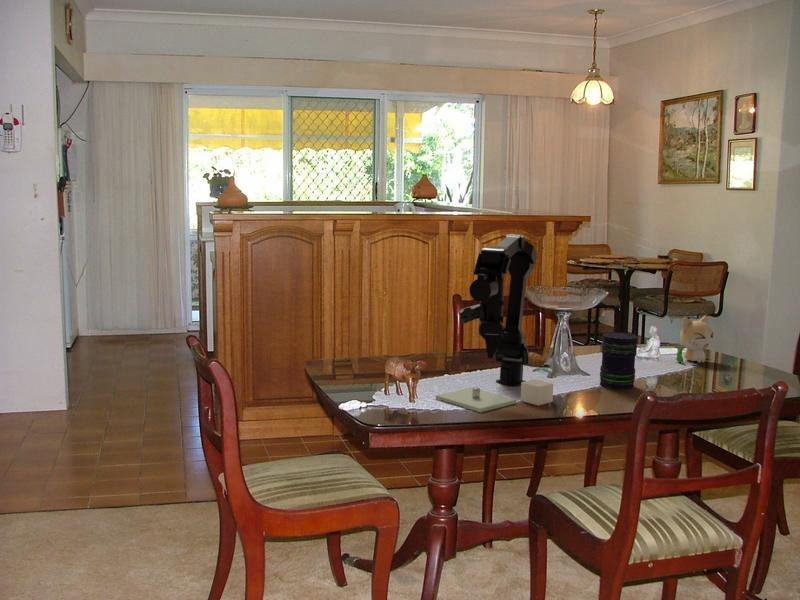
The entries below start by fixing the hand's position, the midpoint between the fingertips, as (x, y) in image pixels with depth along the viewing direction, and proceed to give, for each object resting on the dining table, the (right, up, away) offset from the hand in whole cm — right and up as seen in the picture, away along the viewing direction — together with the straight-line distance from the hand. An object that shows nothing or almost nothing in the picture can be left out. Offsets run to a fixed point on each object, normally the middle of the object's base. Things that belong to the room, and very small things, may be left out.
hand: (490, 354), depth 223 cm
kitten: (+73, -6, +56) cm, 93 cm away
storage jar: (+39, -11, +20) cm, 45 cm away
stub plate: (-4, -12, 0) cm, 13 cm away
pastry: (+19, -6, +47) cm, 51 cm away
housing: (+13, -13, +2) cm, 18 cm away
